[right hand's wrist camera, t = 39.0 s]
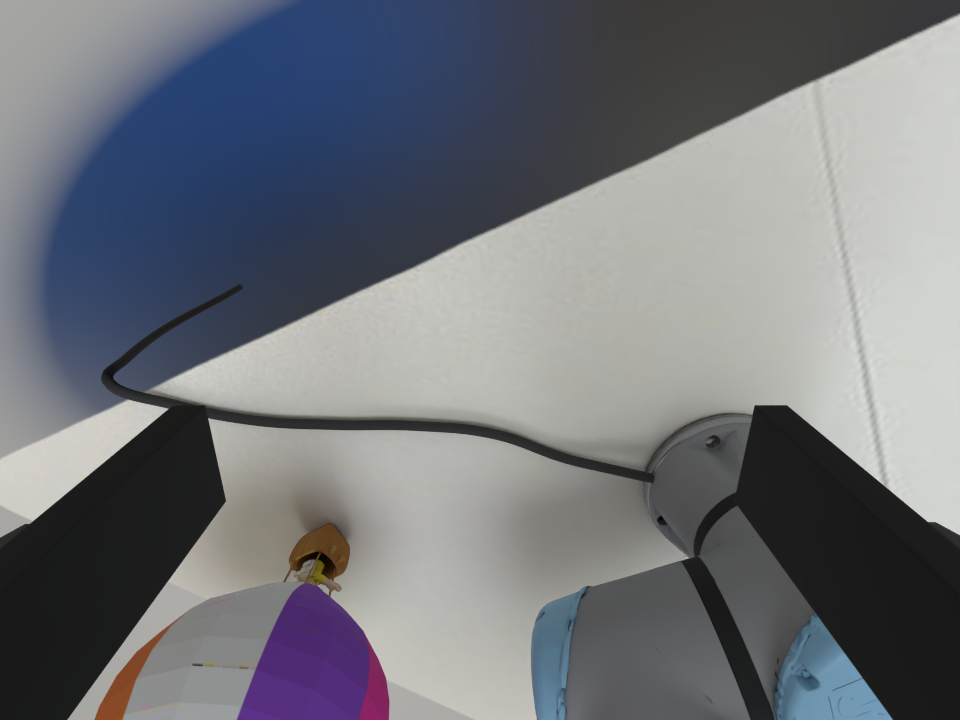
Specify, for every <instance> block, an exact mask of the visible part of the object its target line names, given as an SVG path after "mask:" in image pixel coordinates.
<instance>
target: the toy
mask: <svg viewBox="0 0 960 720" xmlns="http://www.w3.org/2000/svg"><path fill="white" fill-rule="evenodd" d="M349 554H350V547H349V544H348V543H347V541H346V540H345V539H344V538H343V536H342V535H341V534H340V533H339V531H338V530H337V529H336V528H335V526H334V525H333V524H327V525H325V526H323V527H321V528H319V529H317V530H315V531H313V532H310V533H308V534H306V535H305V536H303V537H302V538H301V539H300V540H299V542H298V543H297V545H296V546H295V548H294V549H293V551H292V553H291V555H290V558H289V563H290V565H291V566H290V567H291V568H290V570H289V572H288V574H287V576H286V578H285V580H284V581H283V582H282V583H272V584H267V585H263V586H258V587H254V588H250V589H246V590H242V591H238V592H234V593H230V594H226V595H222V596H218V597H214V598H210V599H209V600H207V601H205V602H203V603H201V604H199V605H197V606H195V607H193V608H192V609H190V610H189V611H187V612H186V613H185V614H183V615H182V616H181V617H179V618H178V619H177V620H176V621H174V622H173V623H172V624H170V625H169V626H168V627H166V628H165V629H164V630H162V631H161V632H160V633H159V634H157V635H156V636H155V637H154V638H153V639H151V640H150V641H149V642H148V643H147V644H146V645H144V646H143V647H142V648H141V649H140V650H138V651H137V652H136V654H135V655H134V656H133V657H132V658H131V659H130V661H129V662H128V663H127V664H126V666H125V667H124V668H123V669H122V670H121V672H120V673H119V674H118V675H117V676H116V678H115V680H114V682H113V683H112V685H111V687H110V689H109V690H108V692H107V694H106V696H105V698H104V700H103V701H102V703H101V705H100V706H99V709H98V712H97V715H96V717H95V720H389V696H388V689H387V682H386V677H385V675H384V672H383V670H382V667H381V665H380V662H379V660H378V658H377V656H376V654H375V652H374V650H373V648H372V647H371V645H370V643H369V641H368V639H367V637H366V635H365V634H364V632H363V630H362V629H361V628H360V627H359V625H358V624H357V623H356V622H355V621H354V620H353V619H352V617H351V616H350V615H349V614H348V613H347V612H346V611H345V610H344V609H343V608H342V607H341V606H340V605H339V604H338V603H336V602H335V601H334V600H333V599H332V598H331V597H330V596H331V591H333V590H334V589H335V590H336V591H337V592H339V591H340V590H341V589H342V587H341V586H340V585H339V584H338V583H336V582H334V578H335V577H337V576H339V575H341V574H343V573H344V571H345V570H346V567H347V564H348V560H349ZM291 570H293V571H296V573H295V574H294V577H297V580H298V582H285V581H286V580H287V578H288V576H289V574H290V572H291ZM330 579H332V580H330ZM319 584H323V585H326V586H327V587H328V588H329V590H330V592H329V596H328V595H327V594H326V593H324V592H323V590H321V589H320V588H319V587H318V586H317V585H319Z"/></svg>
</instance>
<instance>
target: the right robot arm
mask: <svg viewBox="0 0 960 720" xmlns="http://www.w3.org/2000/svg"><path fill="white" fill-rule="evenodd" d="M242 289H243V286H242V285H241V284H239V285H237V286H235V287H233V288H232V289H230V290H228V291H226V292H224V293H223V294H221V295H219V296H217V297H215V298H213V299H211V300H209V301H207V302H205V303H203V304H201V305H199V306H197V307H195V308H193V309H191V310H190V311H188V312H186V313H184V314H182V315H180V316H178V317H176V318H175V319H173V320H171V321H169V322H168V323H166V324H164V325H163V326H161V327H160V328H158V329H156V330H155V331H154V332H152V333H151V334H149V335H148V336H146V337H145V338H143V339H142V340H141V341H139V342H138V343H137V344H136V345H134V346H133V347H132V348H131V349H129V350H128V351H127V352H126V353H125V354H124V355H122V356H121V357H120V358H119V359H118V360H116V361H115V362H113V363H112V364H111V365H109V366H108V367H107V368H106V369H105V370H104V371H103V373H102V376H101V380H102V382H103V384H104V385H105V387H106V388H107V389H108V390H109V391H111V392H112V393H114V394H116V395H118V396H120V397H123V398H126V399H129V400H133V401H137V402H141V403H146V404H150V405H155V406H160V407H164V408H168V410H167V411H166V412H165V413H163V414H162V415H161V416H160V417H159V418H157V419H156V420H155V421H154V422H153V423H151V424H150V425H149V426H148V427H147V428H145V429H144V430H143V431H142V432H140V433H139V434H138V435H137V436H136V437H134V438H133V439H132V440H131V441H130V442H128V443H127V444H126V445H125V446H124V447H122V448H121V449H120V450H119V451H118V452H116V453H115V454H114V455H113V456H111V457H110V458H109V459H108V460H107V461H105V462H104V463H103V464H102V465H101V466H99V467H98V468H97V469H96V470H95V471H93V472H92V473H91V474H90V475H89V476H87V477H86V478H85V479H84V480H83V481H81V482H80V483H79V484H78V485H76V486H75V487H74V488H73V489H72V490H70V491H69V492H68V493H67V494H66V495H64V496H63V497H62V498H61V499H60V500H58V501H57V502H56V503H55V504H54V505H52V506H51V507H50V508H49V509H47V510H46V511H45V512H44V513H43V514H41V515H40V516H39V517H38V518H37V519H35V520H34V521H33V522H32V523H31V524H24V525H23V526H21V527H19V528H17V529H15V530H13V531H12V532H10V533H8V534H6V535H4V536H2V537H1V538H0V720H67V719H68V718H69V717H70V715H71V714H72V712H73V711H74V710H75V708H76V707H77V706H78V704H79V703H80V701H81V700H82V699H83V697H84V696H85V695H86V693H87V692H88V690H89V689H90V688H91V686H92V685H93V684H94V682H95V681H96V679H97V678H98V677H99V675H100V674H101V673H102V671H103V670H104V668H105V667H106V666H107V664H108V663H109V661H110V660H111V659H112V657H113V656H114V655H115V653H116V652H117V650H118V649H119V648H120V646H121V645H122V644H123V642H124V641H125V639H126V638H127V637H128V635H129V634H130V633H131V631H132V630H133V628H134V627H135V626H136V624H137V623H138V621H139V620H140V619H141V617H142V616H143V615H144V613H145V612H146V611H147V609H148V608H149V606H150V605H151V604H152V602H153V601H154V599H155V598H156V597H157V595H158V594H159V593H160V591H161V590H162V589H163V587H164V586H165V584H166V583H167V582H168V580H169V579H170V578H171V576H172V575H173V573H174V572H175V571H176V569H177V568H178V567H179V565H180V564H181V562H182V561H183V560H184V558H185V557H186V555H187V554H188V553H189V551H190V550H191V549H192V547H193V546H194V544H195V543H196V542H197V540H198V539H199V538H200V536H201V535H202V533H203V532H204V531H205V529H206V528H207V527H208V525H209V524H210V522H211V521H212V520H213V518H214V517H215V516H216V514H217V513H218V511H219V510H220V509H221V507H222V506H223V505H224V503H225V502H226V499H225V495H224V490H223V485H222V481H221V476H220V471H219V467H218V462H217V458H216V453H215V448H214V444H213V439H212V435H211V430H210V425H209V421H208V418H210V419H216V420H221V421H227V422H233V423H240V424H247V425H255V426H264V427H275V428H291V429H324V430H410V431H430V432H447V433H459V434H468V435H475V436H481V437H486V438H491V439H496V440H500V441H504V442H507V443H510V444H514V445H516V446H519V447H522V448H525V449H527V450H530V451H532V452H535V453H537V454H540V455H542V456H545V457H548V458H550V459H553V460H556V461H559V462H563V463H566V464H570V465H574V466H577V467H582V468H586V469H590V470H595V471H600V472H604V473H609V474H613V475H618V476H622V477H627V478H631V479H635V480H640V481H644V499H645V503H646V506H647V508H648V511H649V513H650V515H651V517H652V519H653V521H654V523H655V525H656V526H657V528H658V529H659V530H660V532H661V533H662V534H663V535H664V536H665V537H666V538H667V539H668V540H669V541H670V542H672V543H673V544H674V545H675V546H676V547H677V548H679V549H680V550H681V551H682V552H683V553H684V554H685V555H687V556H688V557H689V559H686V560H683V561H678V562H675V563H672V564H668V565H665V566H662V567H658V568H655V569H652V570H649V571H645V572H642V573H639V574H636V575H632V576H629V577H625V578H622V579H618V580H615V581H611V582H608V583H604V584H601V585H597V586H594V587H591V586H587V587H583V588H582V589H581V590H580V591H579V592H576V593H574V594H571V595H568V596H566V597H563V598H560V599H557V600H554V601H552V602H550V603H548V604H547V605H545V606H544V607H543V608H542V609H541V611H540V612H539V614H538V616H537V618H536V621H535V625H534V629H533V633H532V643H531V672H532V685H533V694H534V702H535V710H536V716H537V720H960V535H958V534H956V533H954V532H953V531H951V530H949V529H947V528H945V527H943V526H942V525H940V524H938V523H936V522H927V521H926V520H925V519H923V518H922V517H921V516H920V515H919V514H917V513H916V512H915V511H914V510H913V509H911V508H910V507H909V506H908V505H906V504H905V503H904V502H903V501H902V500H900V499H899V498H898V497H897V496H896V495H894V494H893V493H892V492H891V491H890V490H888V489H887V488H886V487H885V486H884V485H882V484H881V483H880V482H879V481H877V480H876V479H875V478H874V477H873V476H871V475H870V474H869V473H868V472H867V471H865V470H864V469H863V468H862V467H861V466H859V465H858V464H857V463H856V462H855V461H853V460H852V459H851V458H850V457H848V456H847V455H846V454H845V453H844V452H842V451H841V450H840V449H839V448H838V447H836V446H835V445H834V444H833V443H832V442H830V441H829V440H828V439H827V438H826V437H824V436H823V435H822V434H821V433H820V432H818V431H817V430H816V429H815V428H813V427H812V426H811V425H810V424H809V423H807V422H806V421H805V420H804V419H803V418H801V417H800V416H799V415H798V414H797V413H795V412H794V411H793V410H792V409H791V408H789V407H788V406H787V405H755V407H754V411H753V416H749V415H742V414H725V415H718V416H713V417H708V418H705V419H702V420H699V421H697V422H694V423H692V424H690V425H688V426H686V427H684V428H683V429H681V430H680V431H678V432H677V433H675V434H674V435H673V436H671V437H670V438H669V439H668V440H667V441H666V442H665V443H664V444H663V445H662V446H661V447H660V448H659V450H658V451H657V452H656V454H655V455H654V457H653V458H652V460H651V462H650V464H649V466H648V469H647V471H646V472H643V471H638V470H634V469H629V468H625V467H620V466H616V465H611V464H607V463H602V462H598V461H593V460H588V459H584V458H580V457H576V456H572V455H568V454H565V453H562V452H559V451H556V450H553V449H550V448H547V447H545V446H542V445H540V444H537V443H535V442H532V441H530V440H527V439H524V438H522V437H519V436H516V435H513V434H510V433H506V432H503V431H499V430H495V429H490V428H485V427H479V426H473V425H465V424H455V423H440V422H421V421H398V420H369V421H344V420H307V419H283V418H271V417H261V416H253V415H246V414H239V413H232V412H226V411H221V410H216V409H211V408H206V407H205V405H193V404H189V403H185V402H181V401H177V400H173V399H169V398H165V397H161V396H156V395H151V394H147V393H142V392H138V391H135V390H131V389H128V388H126V387H124V386H122V385H120V384H118V383H117V382H116V381H115V380H114V379H113V376H114V375H115V373H116V372H118V371H119V370H120V369H122V368H123V367H124V366H126V365H127V364H128V363H129V362H130V361H131V360H133V359H134V358H135V357H136V356H137V355H138V354H139V353H140V352H141V351H143V350H144V349H145V348H146V347H147V346H149V345H150V344H151V343H152V342H154V341H155V340H157V339H158V338H159V337H161V336H162V335H164V334H165V333H167V332H168V331H170V330H171V329H173V328H175V327H176V326H178V325H180V324H181V323H183V322H185V321H187V320H188V319H190V318H192V317H194V316H196V315H197V314H199V313H201V312H203V311H205V310H207V309H209V308H210V307H212V306H214V305H216V304H218V303H220V302H221V301H223V300H225V299H227V298H229V297H230V296H232V295H234V294H235V293H237V292H239V291H240V290H242Z"/></svg>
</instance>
